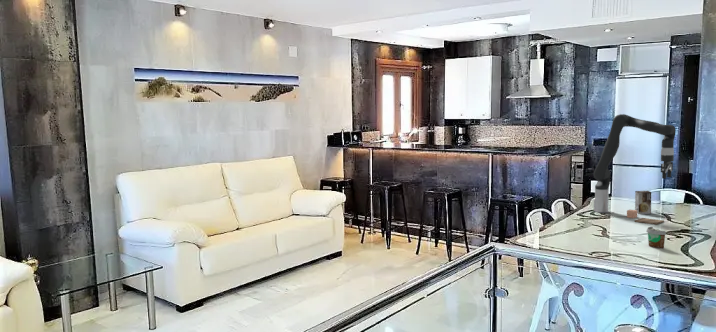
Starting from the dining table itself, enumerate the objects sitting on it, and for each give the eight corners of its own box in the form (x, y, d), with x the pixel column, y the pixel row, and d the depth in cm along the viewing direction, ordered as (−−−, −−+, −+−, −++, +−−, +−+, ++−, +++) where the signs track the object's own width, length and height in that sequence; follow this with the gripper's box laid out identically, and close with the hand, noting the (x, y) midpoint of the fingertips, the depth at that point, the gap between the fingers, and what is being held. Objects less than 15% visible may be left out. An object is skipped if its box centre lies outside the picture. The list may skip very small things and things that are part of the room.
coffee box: (647, 212, 396) (647, 190, 394) (651, 213, 390) (651, 191, 388) (634, 212, 397) (635, 190, 395) (638, 213, 391) (638, 192, 389)
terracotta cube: (626, 217, 380) (626, 210, 380) (629, 216, 384) (630, 209, 383) (633, 218, 377) (634, 211, 376) (637, 217, 380) (637, 210, 379)
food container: (641, 244, 308) (641, 226, 307) (651, 243, 309) (652, 226, 308) (655, 249, 296) (655, 231, 295) (665, 248, 297) (666, 231, 295)
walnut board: (634, 221, 365) (634, 220, 365) (642, 219, 373) (642, 217, 373) (656, 224, 354) (656, 223, 354) (664, 222, 362) (664, 220, 362)
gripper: (665, 153, 371) (664, 176, 373) (657, 154, 362) (656, 178, 364) (677, 153, 366) (676, 177, 367) (669, 155, 356) (668, 179, 358)
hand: (666, 177), depth 366 cm, fingers open, 8 cm apart
